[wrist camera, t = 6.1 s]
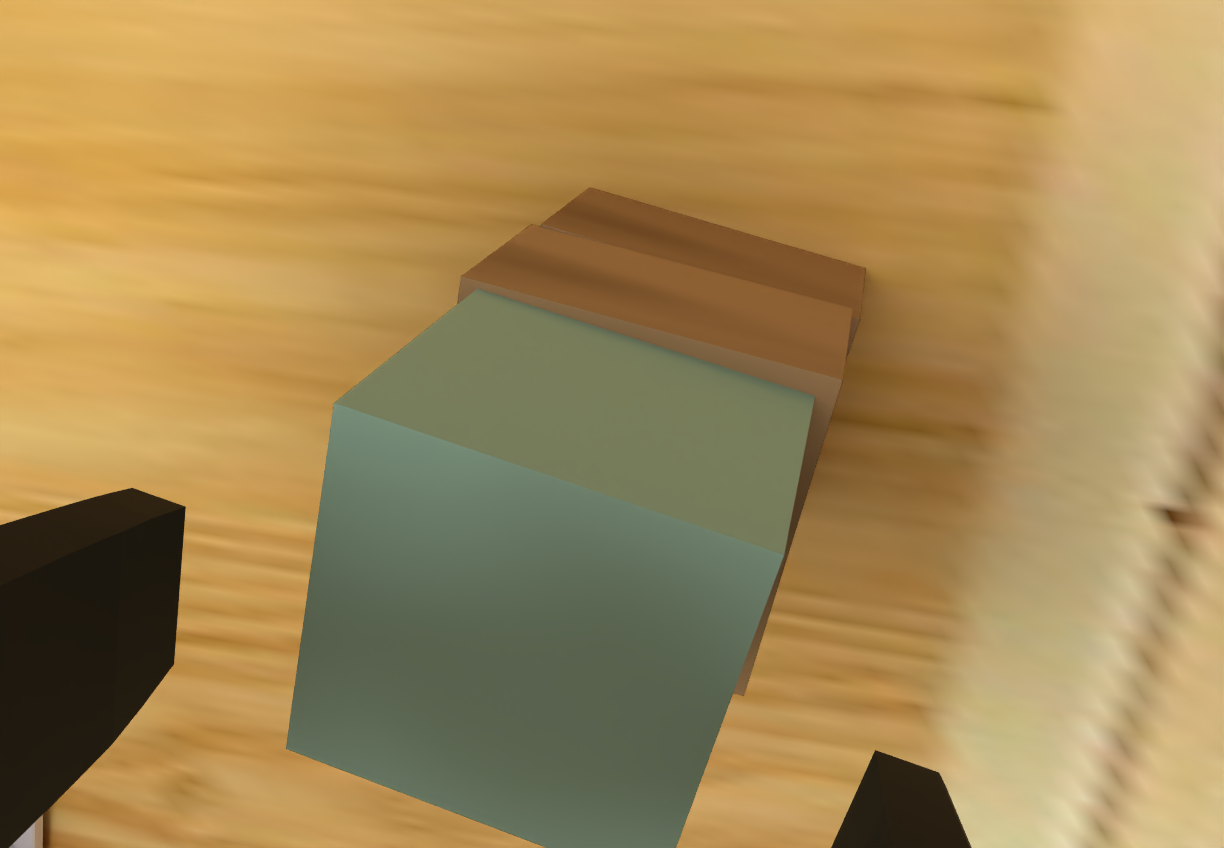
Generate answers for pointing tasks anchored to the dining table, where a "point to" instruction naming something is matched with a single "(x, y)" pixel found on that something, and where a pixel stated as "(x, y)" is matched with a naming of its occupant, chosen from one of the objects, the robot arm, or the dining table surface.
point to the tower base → (711, 248)
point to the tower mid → (684, 326)
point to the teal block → (542, 572)
